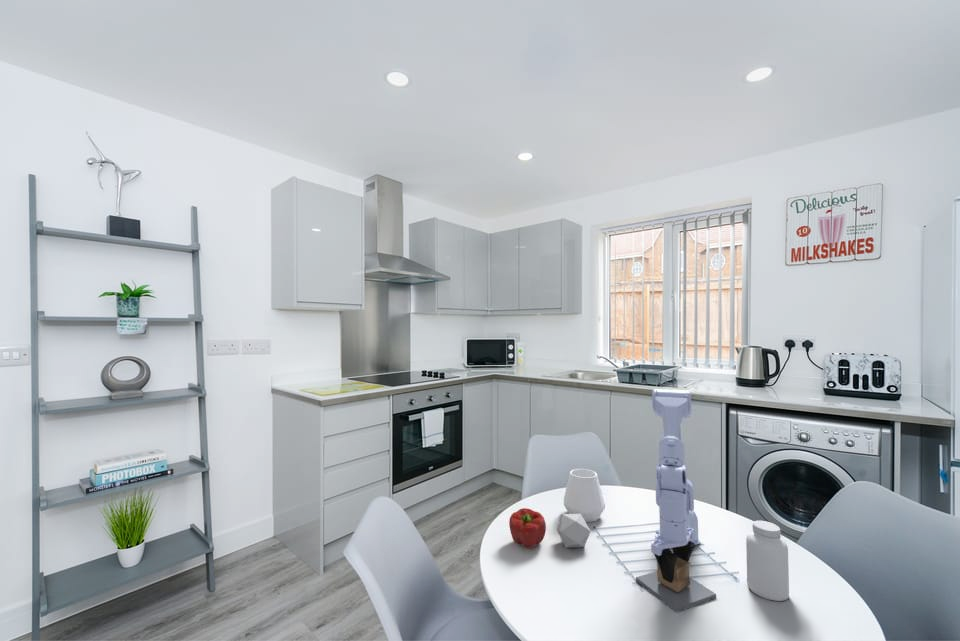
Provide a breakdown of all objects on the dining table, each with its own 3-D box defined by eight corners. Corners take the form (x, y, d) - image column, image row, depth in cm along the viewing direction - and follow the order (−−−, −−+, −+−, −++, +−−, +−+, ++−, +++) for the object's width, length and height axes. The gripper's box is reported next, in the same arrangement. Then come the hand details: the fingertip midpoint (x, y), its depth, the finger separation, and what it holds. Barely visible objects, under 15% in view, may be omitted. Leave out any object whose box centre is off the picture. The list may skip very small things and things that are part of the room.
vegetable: (548, 555, 110) (547, 518, 110) (510, 555, 110) (509, 518, 110) (543, 535, 120) (543, 501, 121) (509, 535, 121) (508, 501, 121)
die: (583, 559, 109) (599, 523, 112) (554, 540, 110) (569, 505, 114) (576, 554, 117) (591, 521, 120) (548, 536, 118) (563, 504, 122)
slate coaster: (673, 569, 103) (672, 566, 103) (716, 597, 91) (716, 593, 91) (635, 580, 98) (635, 577, 98) (676, 611, 87) (676, 608, 87)
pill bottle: (791, 607, 88) (789, 537, 89) (747, 594, 92) (745, 528, 93) (787, 587, 95) (785, 522, 95) (746, 576, 99) (744, 514, 100)
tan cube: (669, 574, 98) (669, 553, 99) (690, 584, 94) (689, 562, 94) (657, 581, 96) (656, 559, 96) (677, 592, 91) (677, 569, 92)
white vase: (611, 525, 127) (610, 480, 127) (568, 525, 127) (567, 480, 127) (599, 506, 140) (598, 466, 140) (560, 507, 140) (559, 466, 141)
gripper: (674, 503, 103) (675, 558, 102) (638, 519, 95) (640, 578, 94) (702, 514, 97) (703, 571, 96) (667, 531, 89) (668, 594, 88)
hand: (674, 576), depth 95 cm, fingers closed on tan cube, 5 cm apart
